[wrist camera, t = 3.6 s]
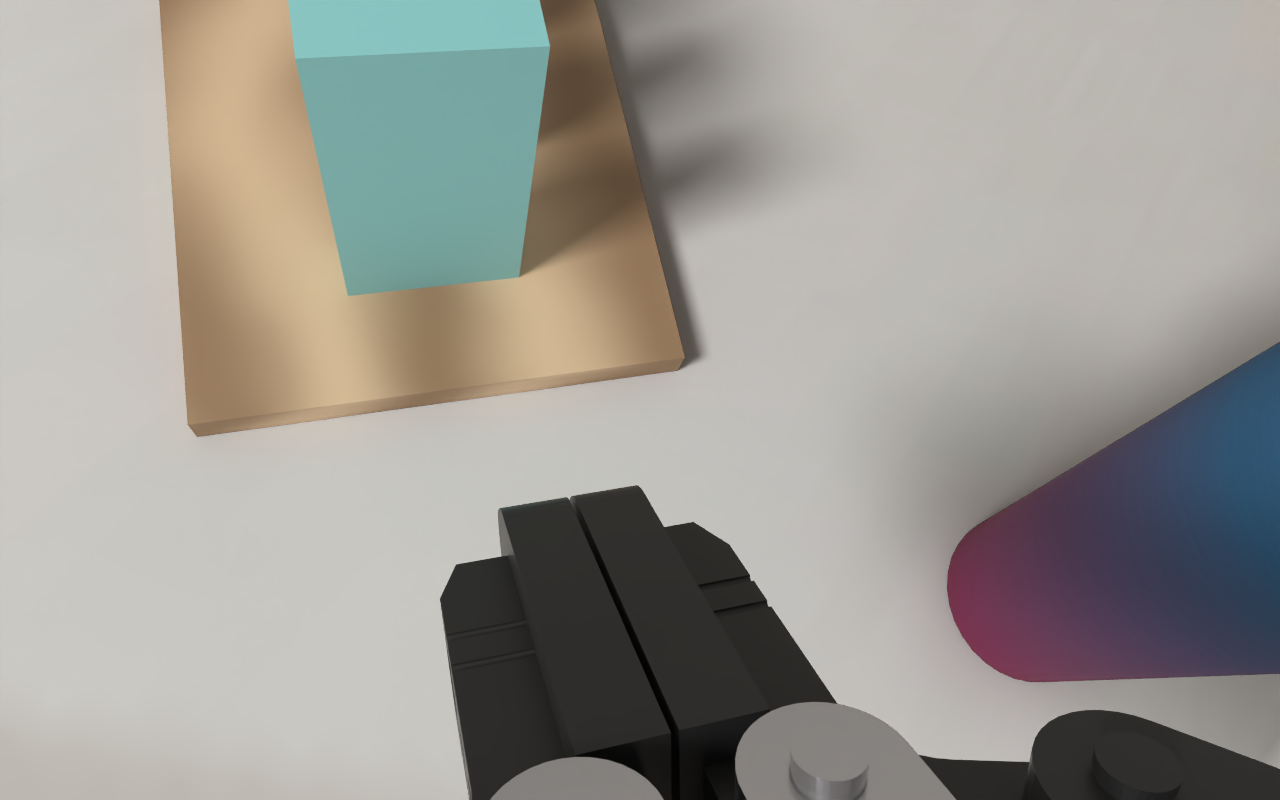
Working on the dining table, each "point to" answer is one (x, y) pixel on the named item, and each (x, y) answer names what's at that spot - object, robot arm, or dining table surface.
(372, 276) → the domino
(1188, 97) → the dining table surface
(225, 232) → the board
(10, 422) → the dining table surface
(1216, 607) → the cup
